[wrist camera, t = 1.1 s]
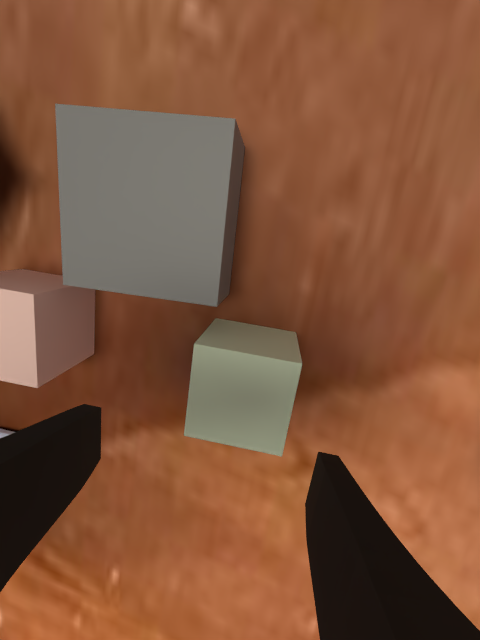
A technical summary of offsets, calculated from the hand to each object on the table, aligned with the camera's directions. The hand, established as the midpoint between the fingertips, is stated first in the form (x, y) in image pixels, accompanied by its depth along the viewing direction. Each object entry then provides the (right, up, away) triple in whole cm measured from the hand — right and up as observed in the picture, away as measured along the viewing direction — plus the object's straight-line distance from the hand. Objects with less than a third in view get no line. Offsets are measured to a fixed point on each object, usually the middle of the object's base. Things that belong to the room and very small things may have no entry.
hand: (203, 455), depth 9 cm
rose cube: (-11, +5, +10) cm, 16 cm away
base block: (-3, +10, +8) cm, 13 cm away
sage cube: (+2, +2, +9) cm, 10 cm away
